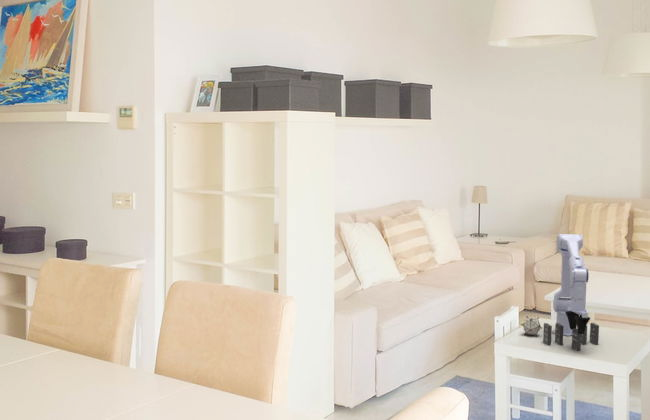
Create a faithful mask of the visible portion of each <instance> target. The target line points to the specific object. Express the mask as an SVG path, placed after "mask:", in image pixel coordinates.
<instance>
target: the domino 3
mask: <svg viewBox="0 0 650 420" xmlns="http://www.w3.org/2000/svg"><path fill="white" fill-rule="evenodd" d="M571 336H572V337H571V349H573V350H575V351H576V352H581V348H582V347H581V345H582V344H581V334H578V331H577V329H576V328H573V331H572V335H571Z"/></svg>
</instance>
